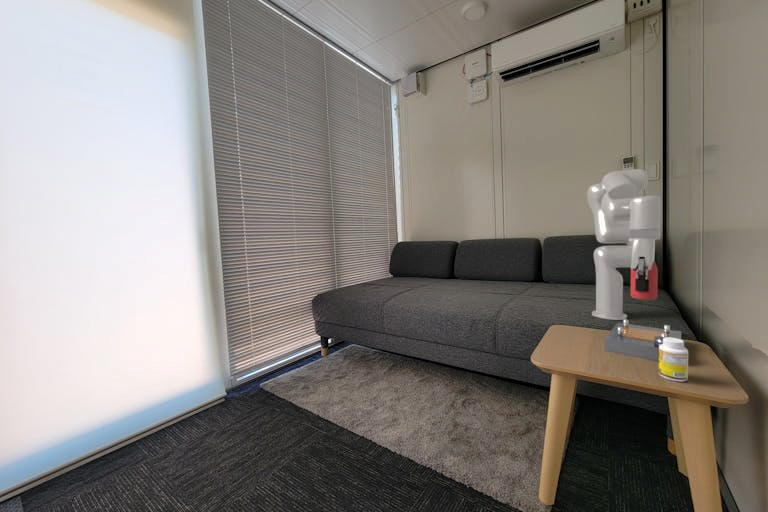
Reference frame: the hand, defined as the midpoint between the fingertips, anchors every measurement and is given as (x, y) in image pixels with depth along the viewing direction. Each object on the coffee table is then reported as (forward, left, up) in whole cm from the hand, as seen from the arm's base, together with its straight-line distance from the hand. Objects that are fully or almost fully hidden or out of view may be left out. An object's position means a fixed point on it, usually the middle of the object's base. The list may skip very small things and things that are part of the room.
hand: (643, 289), depth 97 cm
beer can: (0, 0, -3) cm, 3 cm away
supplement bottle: (+21, +8, -20) cm, 30 cm away
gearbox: (-1, 0, -19) cm, 19 cm away
